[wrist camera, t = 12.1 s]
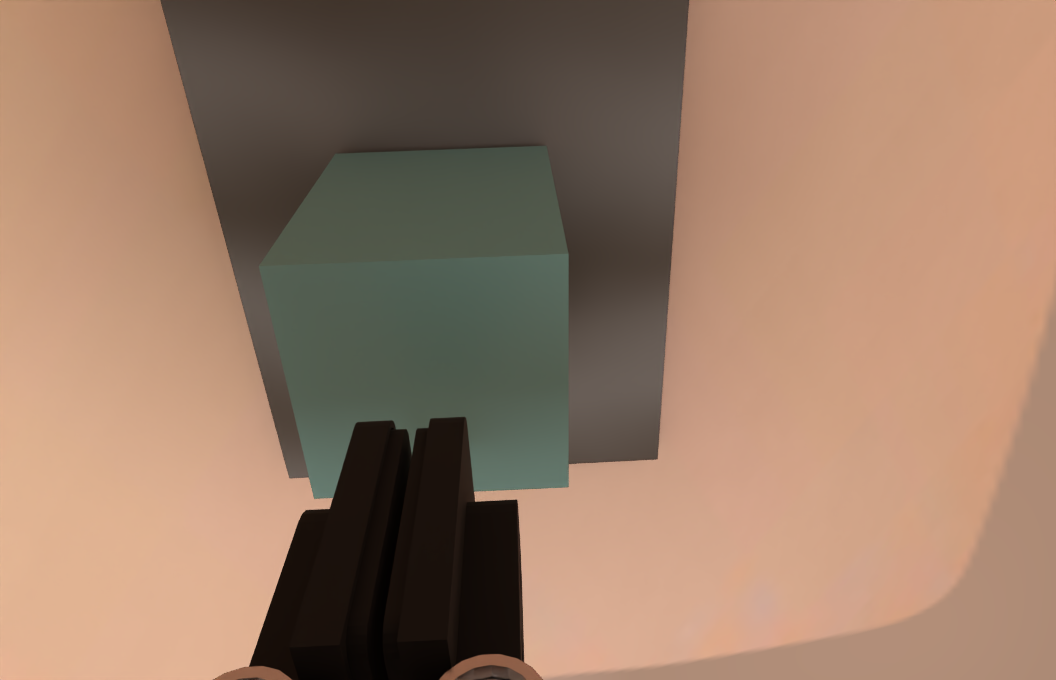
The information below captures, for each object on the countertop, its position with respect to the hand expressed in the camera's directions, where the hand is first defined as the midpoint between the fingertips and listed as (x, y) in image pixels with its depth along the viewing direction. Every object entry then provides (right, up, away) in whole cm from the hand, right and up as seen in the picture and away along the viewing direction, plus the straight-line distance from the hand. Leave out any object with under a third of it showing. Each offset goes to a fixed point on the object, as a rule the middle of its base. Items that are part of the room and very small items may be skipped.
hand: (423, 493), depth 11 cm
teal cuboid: (0, +5, +8) cm, 9 cm away
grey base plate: (0, +5, +9) cm, 10 cm away
